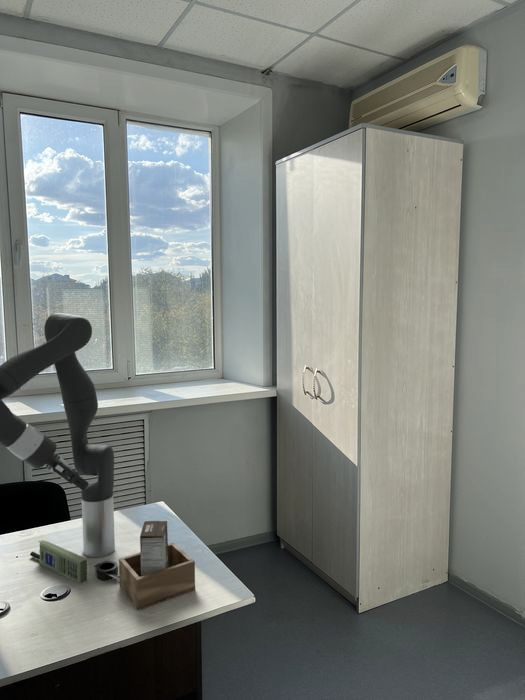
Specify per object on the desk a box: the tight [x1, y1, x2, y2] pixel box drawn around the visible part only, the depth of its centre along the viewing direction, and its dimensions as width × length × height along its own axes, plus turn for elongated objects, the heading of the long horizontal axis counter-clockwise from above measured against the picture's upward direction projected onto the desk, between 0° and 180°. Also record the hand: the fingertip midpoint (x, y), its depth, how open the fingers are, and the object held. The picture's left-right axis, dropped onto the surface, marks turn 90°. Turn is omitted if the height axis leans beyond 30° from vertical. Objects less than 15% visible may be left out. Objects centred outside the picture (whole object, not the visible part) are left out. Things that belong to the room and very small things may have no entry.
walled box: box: [118, 542, 196, 611], centre depth 140 cm, size 13×16×8 cm
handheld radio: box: [29, 539, 88, 584], centre depth 151 cm, size 7×3×25 cm
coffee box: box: [139, 520, 169, 576], centre depth 140 cm, size 9×6×16 cm
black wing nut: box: [93, 560, 120, 582], centre depth 147 cm, size 8×10×3 cm
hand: (81, 481), depth 135 cm, fingers open, 8 cm apart
